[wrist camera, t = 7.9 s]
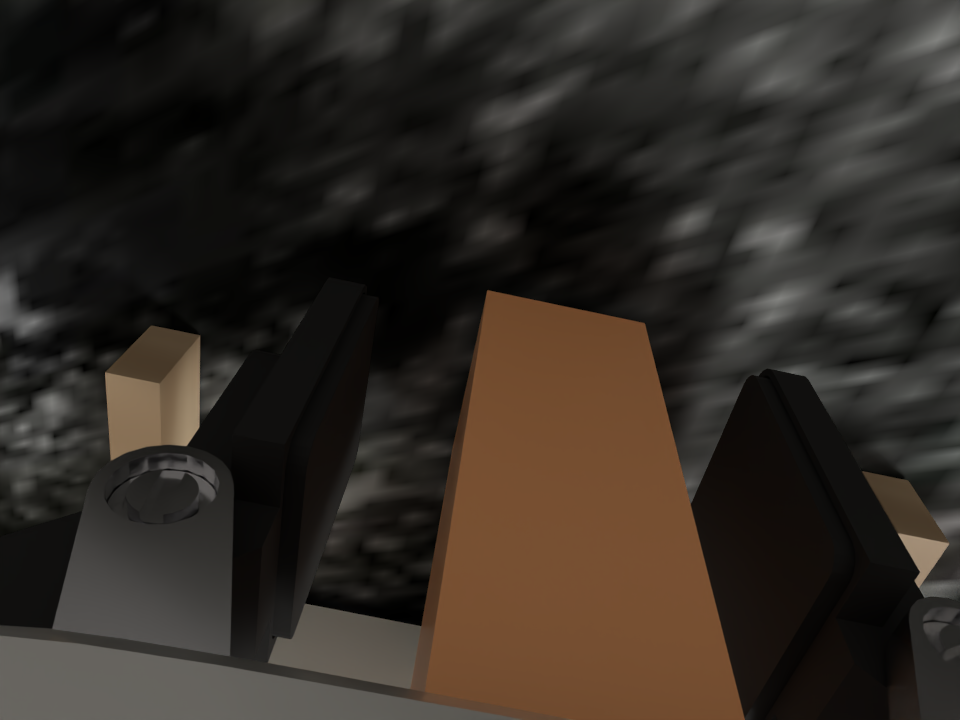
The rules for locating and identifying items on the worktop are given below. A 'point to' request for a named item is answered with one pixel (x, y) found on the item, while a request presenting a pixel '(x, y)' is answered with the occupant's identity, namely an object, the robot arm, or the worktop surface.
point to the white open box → (553, 542)
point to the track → (176, 406)
